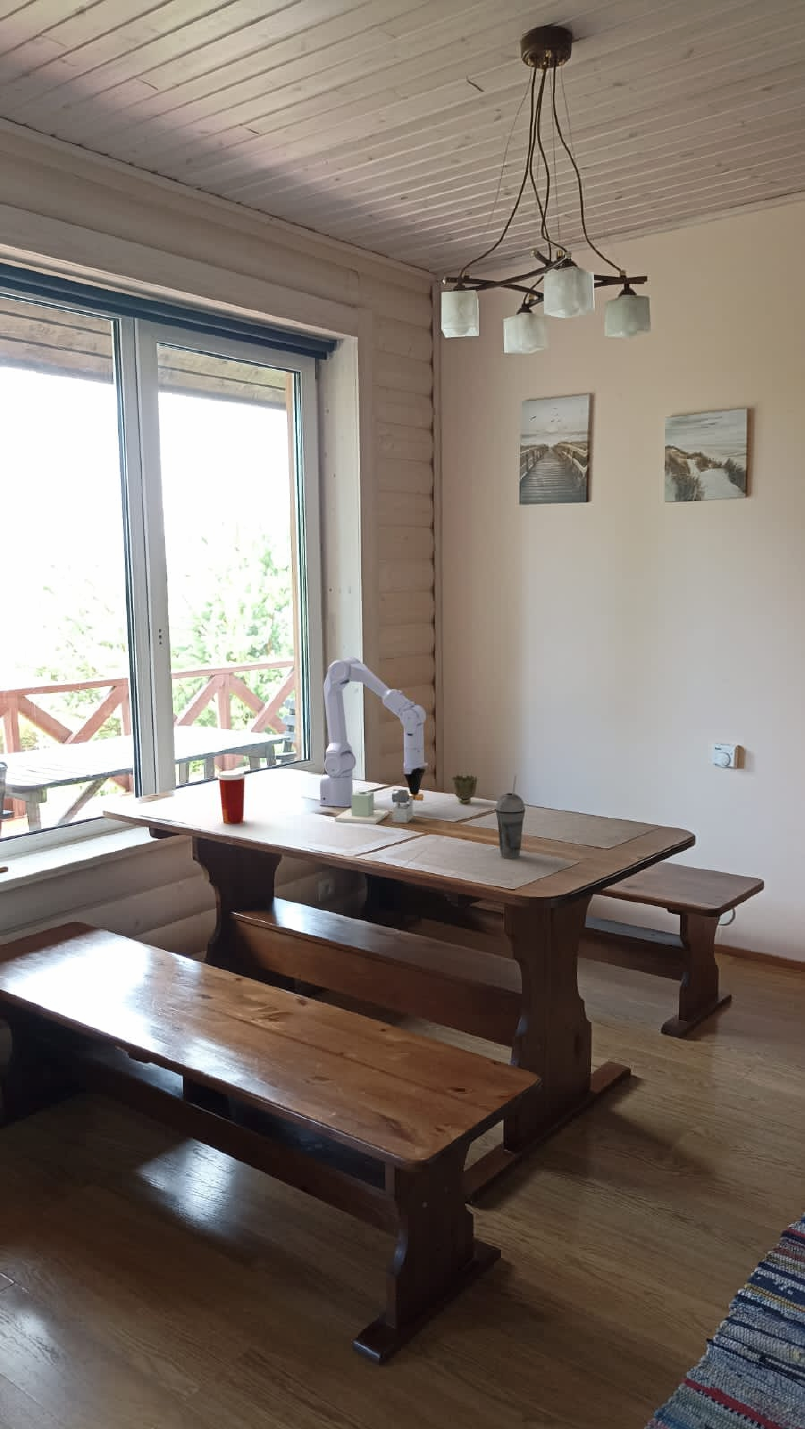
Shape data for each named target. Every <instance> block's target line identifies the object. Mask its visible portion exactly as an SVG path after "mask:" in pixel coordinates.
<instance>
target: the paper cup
mask: <svg viewBox="0 0 805 1429" xmlns="http://www.w3.org/2000/svg"><path fill="white" fill-rule="evenodd" d="M244 772H245V771H243V770H234V769H233V770H224V771H221V772H219V774H218V776H217V779H218V781H219V795H220V804H221V812H222V822H223V823H224V824H228V825H233V824H235V825H237V824H240V823H243V822H244V815H245V814H244V811H245V779H246V775H245V773H244Z"/></svg>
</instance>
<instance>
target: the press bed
mask: <svg viewBox="0 0 805 1429" xmlns="http://www.w3.org/2000/svg"><path fill="white" fill-rule="evenodd" d="M389 814H390V811H389V810H384V809H383V810H380V809H374V813H373V814H372V815H370V816H369V817H363V816H352V808H351V807H350V808H349V807H348V809H346V810H345V811H343V812H342V813H341V814H339V815H337V816H336V817H334V822H339V823H340V822H341V823H354V824H355V823H356V824H368V825H369V824H370V825H372V824H373V825H376V824H377V823H379V822H381V821H382V820H383V819H384V818H386V817H387V816H388V815H389Z"/></svg>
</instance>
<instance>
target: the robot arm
mask: <svg viewBox="0 0 805 1429" xmlns="http://www.w3.org/2000/svg"><path fill="white" fill-rule="evenodd" d="M351 682H355V683H362V684H363V685H365V686H366V687H367V688H369V689H370V690H371V691H373V692H374V693H375V694H376V695H377V696H379V697H380V698H381V700H382V704H383V706H384V707H386V708H387V709H388V710H390V712H392V713H393V714H394V715H395V716H396V717H397V718H399V721H400V723H401V725H402V726H403V758H404V759H403V760H404V761H403V771H402V774H403V776H404V778H405V779H406V782H407V785H408V789H409V793H410V794H416V795H417V794H420V789H421V783H422V780H423V777H424V774H425V772H426V768H422V767H427V766H428V765H429V763H428V762H425V752H424V751H425V749H424V746H425V744H424V743H425V741H424V740H425V738H424V732H425V731H424V723H425V721H426V720H427V713H426V710H425V708H423V706H422V705H420V704H419V705H418V704H416V705H415V702H414V701H411V700H409V699H408V698H407V697H406V696H405V695H404V694H403V691H402V690H400V689H399V690H398V689H396V688H394V689H390V688H389V687H388V686H387V685H386V684H385V683H384V682H383V681H382V680H381V679H379V677H377V675H375V674H374V673H373V672H372V671H371V670H370V669H369V668H368V667H367V665H366V664H365V663H363V662H361V661H360V660H359V659H358V658H356V657H349V658H345V659H344V658H343V659H336V660H334V661H333V662H332V663H331V664H330V665H329V666H328V667H327V673H326V678H325V679H324V683H323V696H324V705H325V714H326V715H325V716H326V723H327V733H328V742H329V744H328V746H327V748H326V750H325V760H324V763H323V766H324V770H325V772H326V774H323V775H322V776H321V778H320V782H319V794H320V795H319V798H320V800H319V801H320V803H319V806H326V807H327V806H328V807H340V808H342V807H343V808H349V807H350V808H351V795H352V794H354V792H353V790H354V788H353V770H354V768H355V767H356V764H357V760H356V757H355V754H354V753H353V747H352V745H351V744H350V743H349V741H348V736H347V735H348V733H347V726H346V715H345V714H346V713H345V704H344V698H343V697H344V696H343V690H344V688H346V687H347V685H348V684H349V683H351Z"/></svg>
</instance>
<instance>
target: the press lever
mask: <svg viewBox="0 0 805 1429" xmlns="http://www.w3.org/2000/svg"><path fill="white" fill-rule="evenodd" d="M408 792H409V791H408V790H407V789H396V788H395V789H393V790H392V793H391V801H392V803H400V804H408V803H409V796H411V795H413V801H416V802H417V801H418V802H419V801H420V802H423V801H424V794H423V793H418V794H417V795H416V794H410V792H409V793H408ZM407 802H408V803H407Z"/></svg>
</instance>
